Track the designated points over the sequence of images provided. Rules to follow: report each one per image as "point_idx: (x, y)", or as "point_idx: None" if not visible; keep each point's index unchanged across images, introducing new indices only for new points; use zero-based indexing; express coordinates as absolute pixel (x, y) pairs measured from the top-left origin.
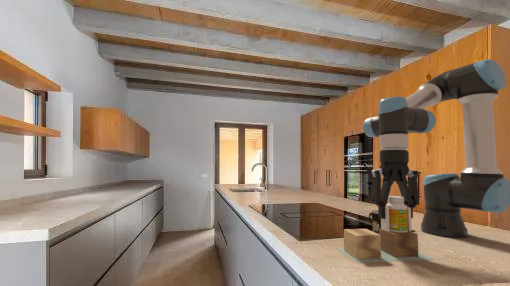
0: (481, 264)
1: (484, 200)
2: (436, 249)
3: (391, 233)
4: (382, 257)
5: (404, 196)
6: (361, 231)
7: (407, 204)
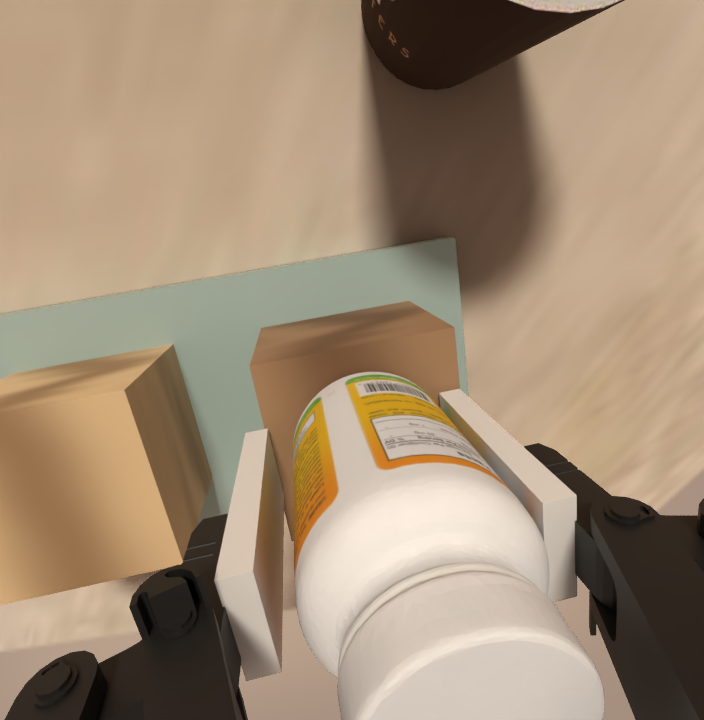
0: (675, 417)
1: None
2: (661, 199)
3: (286, 514)
4: (222, 469)
5: (655, 699)
6: (56, 490)
7: (600, 576)
